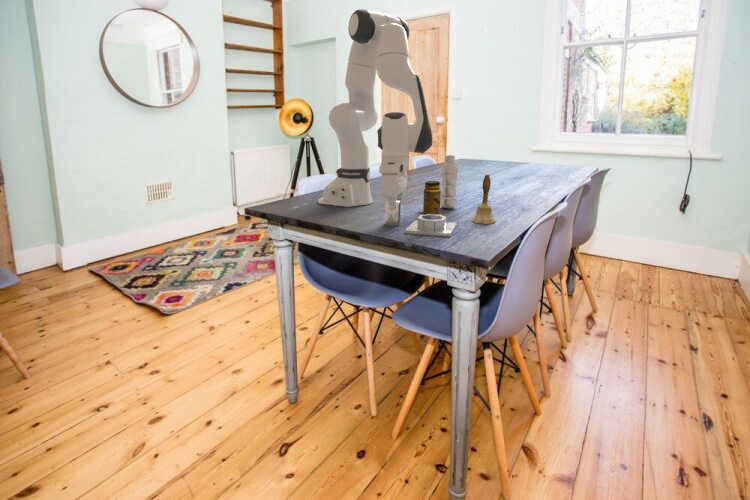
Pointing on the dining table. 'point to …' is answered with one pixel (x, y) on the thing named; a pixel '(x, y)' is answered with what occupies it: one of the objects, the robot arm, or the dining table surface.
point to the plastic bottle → (448, 183)
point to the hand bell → (484, 206)
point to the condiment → (431, 198)
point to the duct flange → (431, 226)
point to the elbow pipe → (392, 214)
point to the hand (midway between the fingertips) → (395, 206)
